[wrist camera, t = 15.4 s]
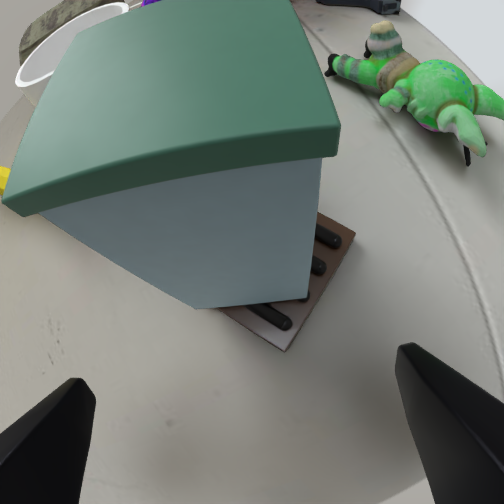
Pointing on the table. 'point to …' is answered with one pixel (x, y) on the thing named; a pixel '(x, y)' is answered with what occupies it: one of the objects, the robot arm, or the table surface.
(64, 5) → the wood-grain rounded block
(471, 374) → the table surface
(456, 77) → the toy
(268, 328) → the dish rack
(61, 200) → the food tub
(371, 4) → the handgun
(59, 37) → the mug
